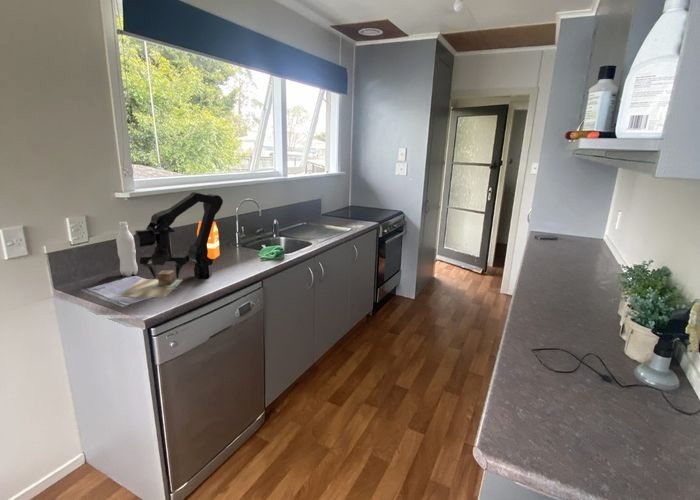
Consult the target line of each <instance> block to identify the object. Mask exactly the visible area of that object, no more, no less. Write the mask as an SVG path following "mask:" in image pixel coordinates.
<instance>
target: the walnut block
mask: <svg viewBox="0 0 700 500" xmlns="http://www.w3.org/2000/svg"><path fill="white" fill-rule="evenodd" d="M157 280H158V283H159V285H171V284H173V283H174V282H175V280H176V274H175V270H170V269H169V270H168V269H167V270H163V269H162V270H160V271H159V272H158V273H157Z"/></svg>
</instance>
